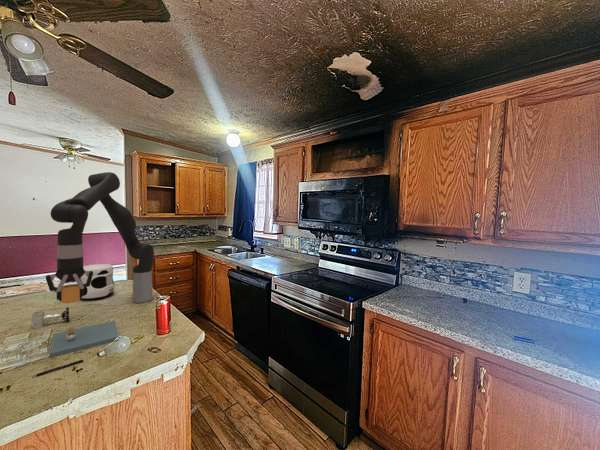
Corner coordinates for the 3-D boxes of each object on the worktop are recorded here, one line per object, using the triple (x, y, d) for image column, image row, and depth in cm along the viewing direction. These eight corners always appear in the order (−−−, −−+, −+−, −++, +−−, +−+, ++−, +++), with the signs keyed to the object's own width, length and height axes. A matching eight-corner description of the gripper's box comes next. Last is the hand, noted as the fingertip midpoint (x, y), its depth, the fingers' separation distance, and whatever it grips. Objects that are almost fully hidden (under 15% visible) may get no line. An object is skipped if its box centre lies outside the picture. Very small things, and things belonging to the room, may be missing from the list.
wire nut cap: (79, 297, 101) (79, 283, 101) (79, 301, 98) (79, 286, 97) (62, 300, 98) (61, 285, 98) (61, 304, 94) (61, 288, 94)
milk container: (76, 295, 149) (76, 265, 148) (112, 289, 161) (112, 262, 160) (77, 304, 137) (77, 271, 136) (116, 297, 148) (116, 267, 147)
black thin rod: (32, 379, 79) (32, 376, 79) (32, 377, 79) (32, 374, 79) (83, 362, 88) (83, 360, 88) (83, 361, 88) (82, 358, 88)
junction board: (114, 323, 116) (114, 320, 116) (118, 340, 102) (118, 336, 102) (54, 337, 103) (53, 333, 103) (49, 357, 89) (49, 353, 89)
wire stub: (75, 337, 101) (75, 327, 100) (75, 339, 99) (75, 330, 98) (66, 339, 99) (66, 329, 99) (66, 341, 97) (66, 331, 97)
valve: (30, 331, 107) (69, 323, 115) (30, 316, 107) (68, 309, 115) (32, 325, 112) (69, 318, 120) (32, 311, 112) (68, 305, 120)
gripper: (94, 253, 104) (94, 293, 105) (45, 256, 95) (45, 300, 96) (94, 256, 99) (94, 298, 100) (42, 259, 89) (43, 306, 90)
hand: (70, 299), depth 98 cm, fingers closed on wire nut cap, 5 cm apart
